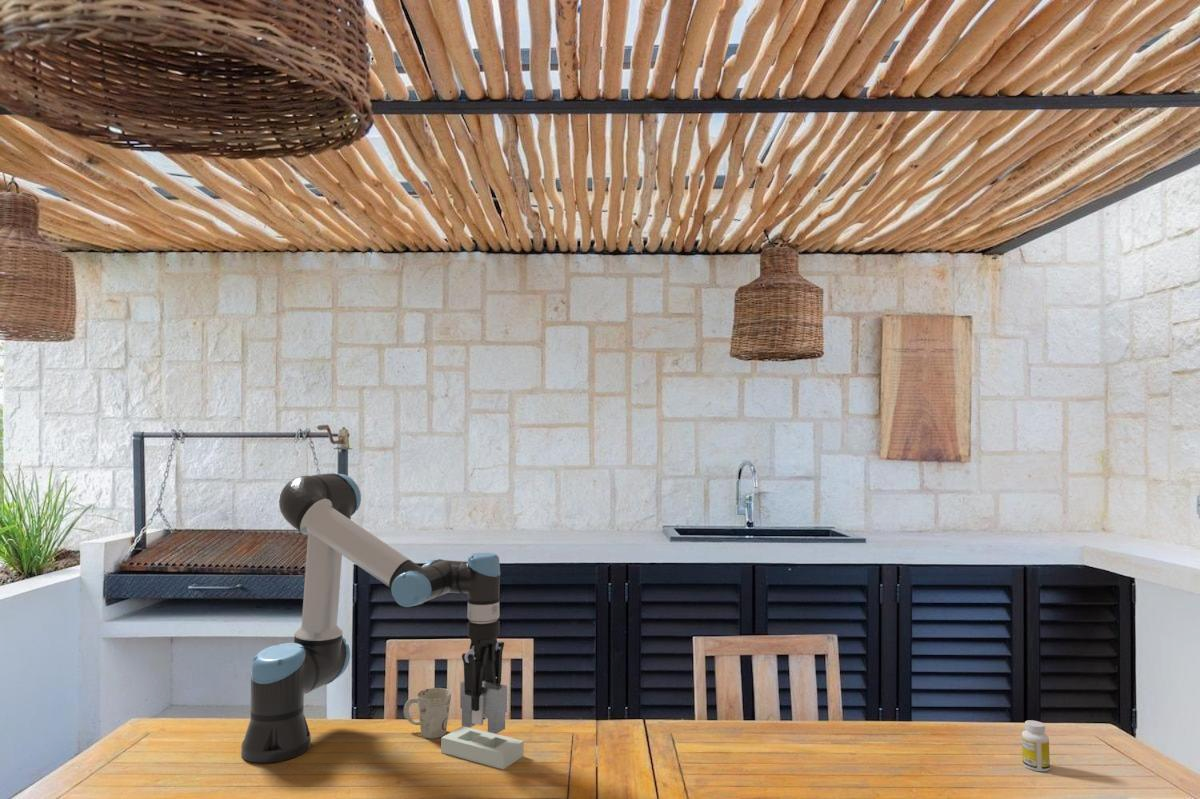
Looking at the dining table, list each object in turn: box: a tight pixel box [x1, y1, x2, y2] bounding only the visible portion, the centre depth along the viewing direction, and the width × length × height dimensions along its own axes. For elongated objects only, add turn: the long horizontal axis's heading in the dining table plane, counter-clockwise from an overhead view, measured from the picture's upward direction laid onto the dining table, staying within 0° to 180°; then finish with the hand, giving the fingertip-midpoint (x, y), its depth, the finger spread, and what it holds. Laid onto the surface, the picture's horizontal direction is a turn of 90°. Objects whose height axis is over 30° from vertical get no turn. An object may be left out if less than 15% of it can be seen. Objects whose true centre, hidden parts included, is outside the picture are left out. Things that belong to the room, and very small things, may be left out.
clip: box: [459, 680, 508, 734], centre depth 176 cm, size 11×4×10 cm, turn 61°
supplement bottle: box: [1021, 719, 1051, 772], centre depth 171 cm, size 5×5×10 cm
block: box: [440, 725, 525, 770], centre depth 176 cm, size 18×8×4 cm, turn 61°
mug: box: [403, 687, 452, 739], centre depth 188 cm, size 8×13×10 cm, turn 78°
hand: (483, 720), depth 176 cm, fingers closed on clip, 3 cm apart
